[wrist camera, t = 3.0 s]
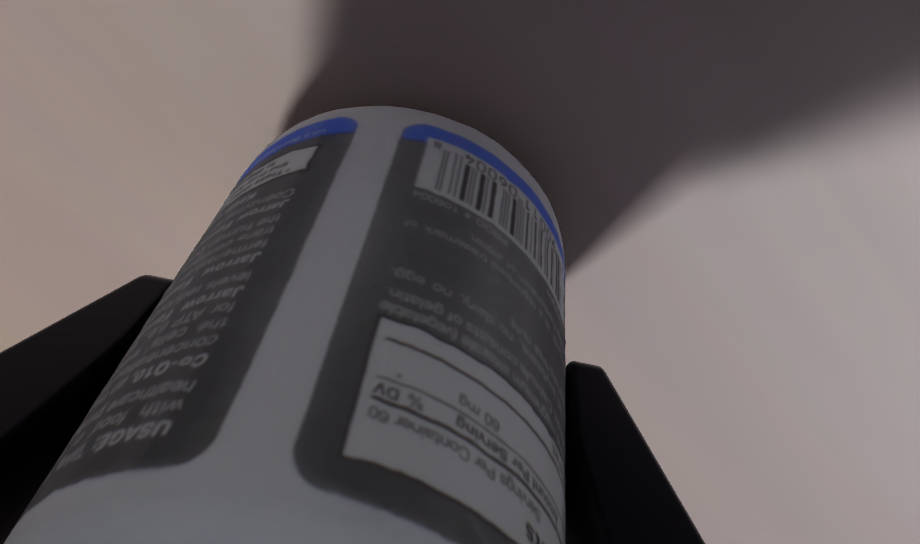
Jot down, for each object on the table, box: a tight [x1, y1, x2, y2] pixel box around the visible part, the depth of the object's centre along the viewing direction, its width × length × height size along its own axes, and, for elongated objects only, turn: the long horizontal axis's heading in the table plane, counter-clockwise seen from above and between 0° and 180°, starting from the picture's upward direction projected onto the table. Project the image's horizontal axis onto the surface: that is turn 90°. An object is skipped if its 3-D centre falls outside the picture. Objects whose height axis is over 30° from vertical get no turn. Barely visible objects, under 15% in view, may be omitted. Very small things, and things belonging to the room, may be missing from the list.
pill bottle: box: [4, 106, 566, 544], centre depth 8 cm, size 5×5×8 cm
